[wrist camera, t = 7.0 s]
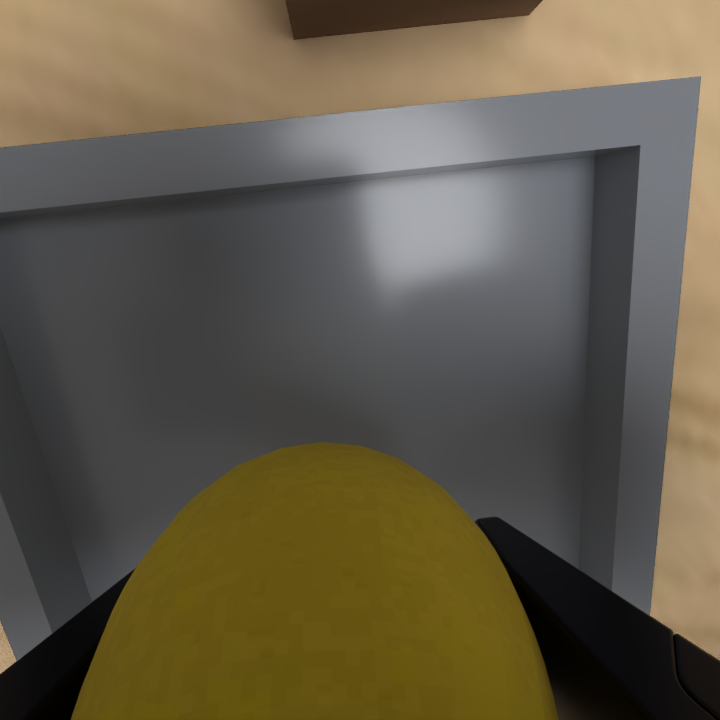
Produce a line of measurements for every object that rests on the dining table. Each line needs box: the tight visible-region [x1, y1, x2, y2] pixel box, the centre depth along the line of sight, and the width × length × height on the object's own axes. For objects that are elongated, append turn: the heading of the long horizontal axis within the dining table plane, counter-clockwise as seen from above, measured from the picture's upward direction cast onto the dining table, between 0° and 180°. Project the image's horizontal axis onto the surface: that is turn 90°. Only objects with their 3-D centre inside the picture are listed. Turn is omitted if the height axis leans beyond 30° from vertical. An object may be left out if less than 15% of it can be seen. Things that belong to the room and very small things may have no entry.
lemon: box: [71, 442, 559, 720], centre depth 6 cm, size 6×6×8 cm
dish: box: [0, 76, 701, 661], centre depth 11 cm, size 15×15×2 cm
